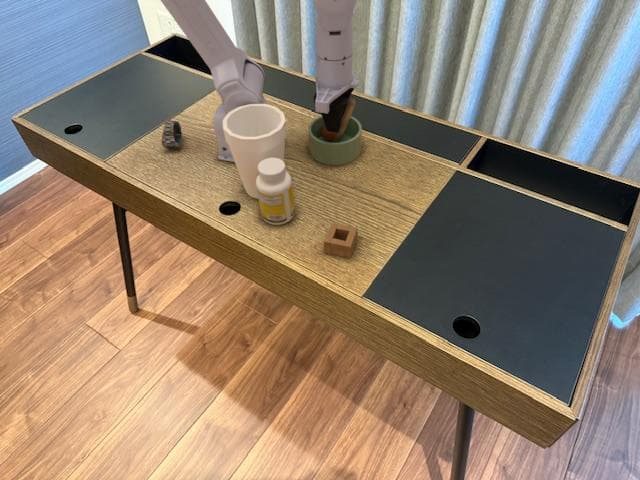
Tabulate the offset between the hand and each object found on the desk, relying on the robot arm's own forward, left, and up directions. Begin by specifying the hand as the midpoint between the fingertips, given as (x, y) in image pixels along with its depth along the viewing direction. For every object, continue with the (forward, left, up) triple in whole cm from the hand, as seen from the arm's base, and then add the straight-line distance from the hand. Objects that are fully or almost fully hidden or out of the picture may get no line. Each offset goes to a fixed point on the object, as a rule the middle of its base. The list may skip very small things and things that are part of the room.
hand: (335, 126), depth 85 cm
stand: (+7, -23, -5) cm, 24 cm away
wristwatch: (-29, -7, -5) cm, 30 cm away
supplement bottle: (-4, -19, -5) cm, 20 cm away
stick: (0, 0, -4) cm, 4 cm away
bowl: (0, 0, -5) cm, 5 cm away
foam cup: (-9, -13, -5) cm, 17 cm away
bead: (-2, +2, -3) cm, 4 cm away
